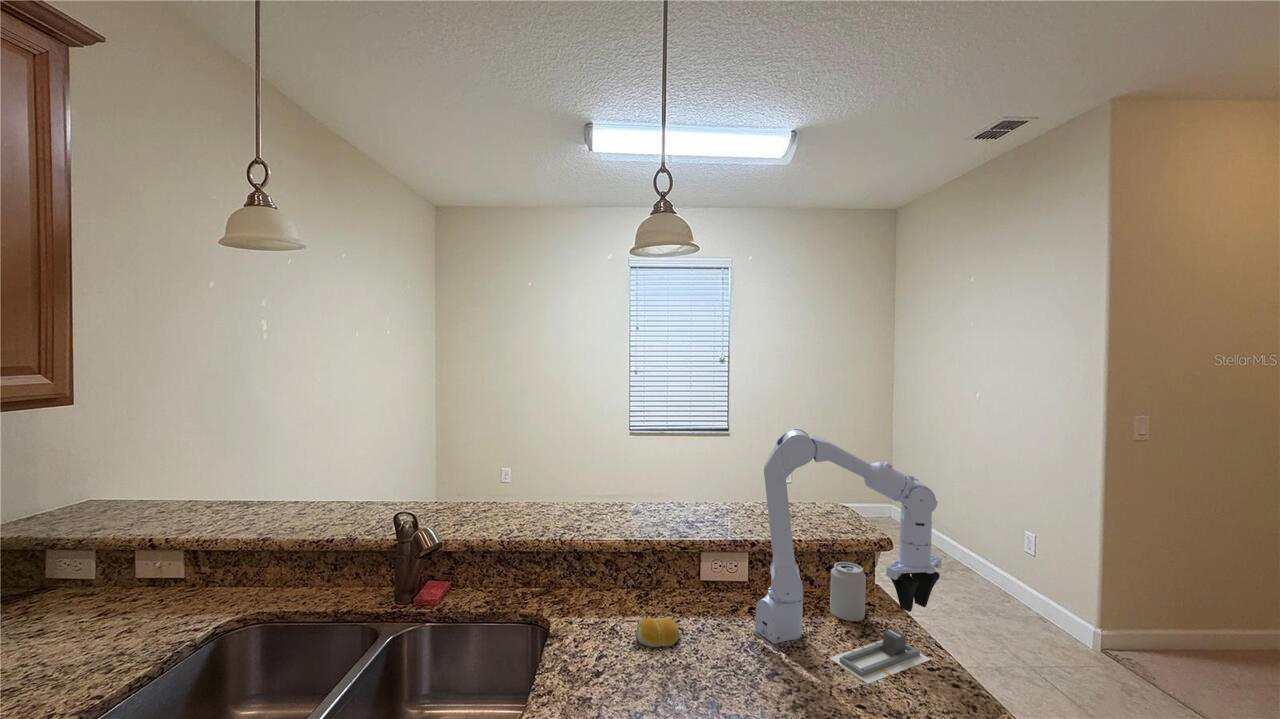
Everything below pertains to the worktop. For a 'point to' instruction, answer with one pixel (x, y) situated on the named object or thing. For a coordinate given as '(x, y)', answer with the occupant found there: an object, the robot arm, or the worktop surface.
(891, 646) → the fader
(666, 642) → the bread roll
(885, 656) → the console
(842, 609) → the can
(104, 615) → the worktop surface
